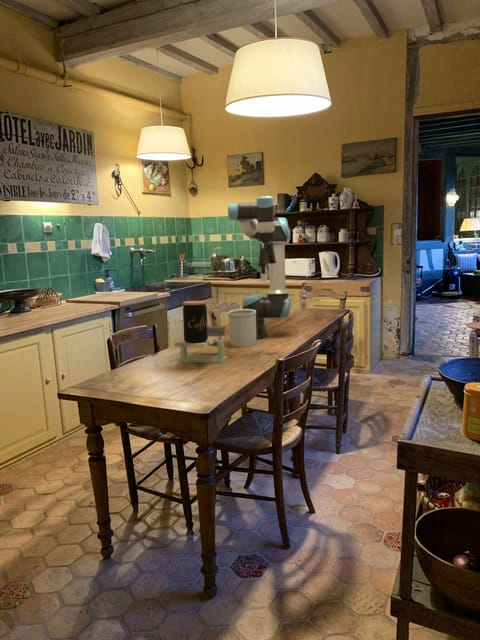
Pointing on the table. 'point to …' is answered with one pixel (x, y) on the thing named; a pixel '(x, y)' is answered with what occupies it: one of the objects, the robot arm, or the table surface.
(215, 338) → the seesaw plank
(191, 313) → the coffee jar
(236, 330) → the utensil holder
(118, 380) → the table surface
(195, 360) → the seesaw stand
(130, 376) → the table surface
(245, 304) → the robot arm
